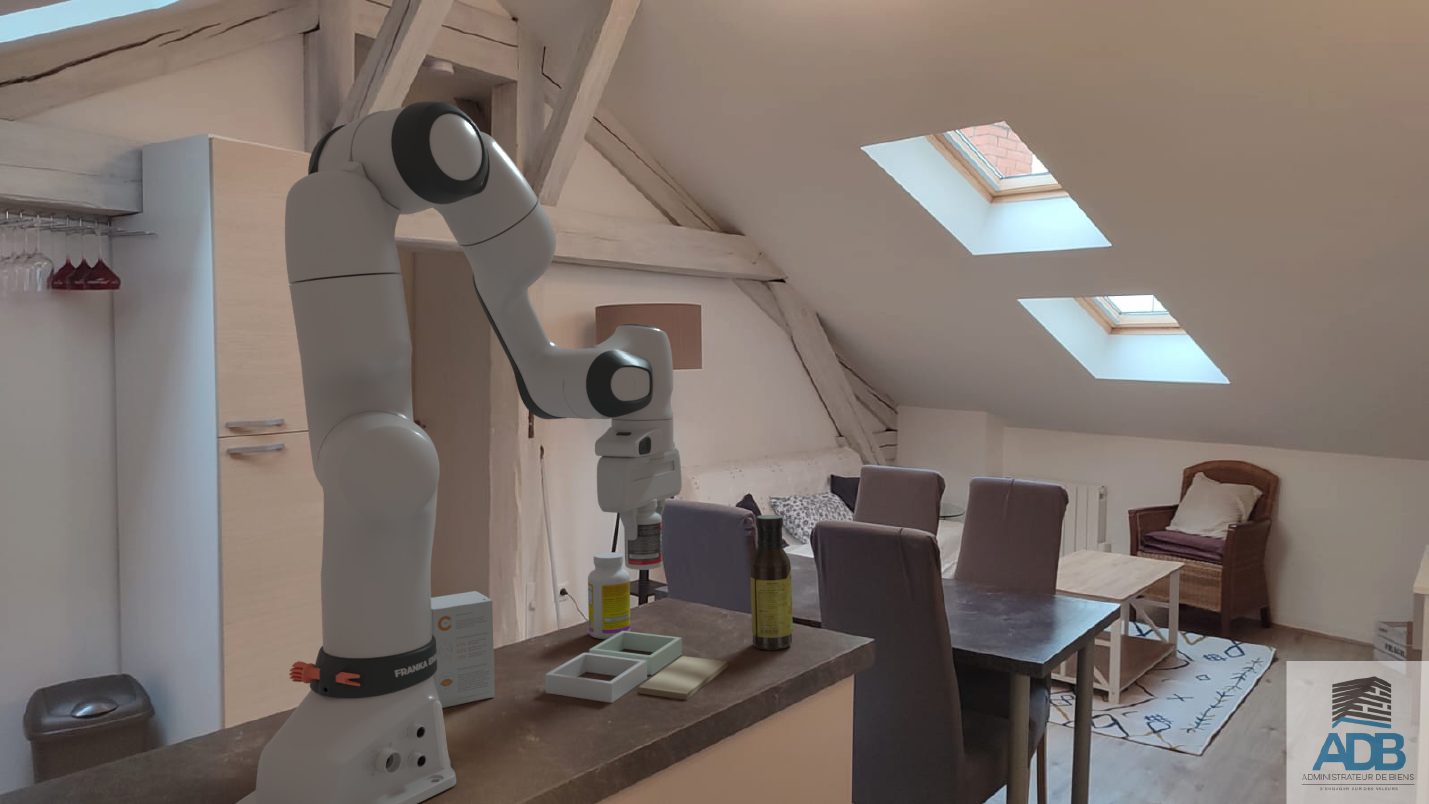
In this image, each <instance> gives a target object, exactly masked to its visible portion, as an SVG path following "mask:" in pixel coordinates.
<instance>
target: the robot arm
mask: <svg viewBox="0 0 1429 804" xmlns="http://www.w3.org/2000/svg"><path fill="white" fill-rule="evenodd" d="M307 167H308V169H307V170H308V171H307V175H305V176H303V177H301V178H300V179H299V180H297V181H296V182H295V183H294V184H293V185H292V186H291V187H290V189H289V191H288V192H287V196H286V199H285V211H284V212H285V213H284V215H285V216H284V244H285V245H284V246H285V248H284V250H285V262H286V263H285V264H286V271H287V279H288V284H289V285H288V287H289V291H290V292H289V294H290V299H291V305H292V306H291V307H292V311H293V313H292V314H293V319H294V326H295V331H296V338H297V343H298V344H297V345H298V349H299V350H298V351H299V357H300V365H301V366H300V367H301V374H302V375H301V377H302V384H303V385H302V386H303V387H302V388H303V396H304V406H305V413H306V414H305V415H306V421H307V431H308V438H309V447H310V454H311V462H312V466H313V472H314V475H315V477H316V479H317V482H318V484H320V486H321V488H322V491H323V493H322V494H323V532H322V535H323V536H322V556H321V571H320V590H321V591H320V595H321V596H320V597H321V624H322V625H321V627H322V633H321V634H322V646H320V647H319V650H318V653H317V657H316V660H315V663H307V662H304V661H300V660H299V661H296V662H294V663H293V664H292V665H291V668H290V669H289V676H290V677H289V679H290V680H291V681H292V682H295V683H302V682H303V683H304V684H309V688H310V690H309V692H308V693H307V695H305V697H303V699H302V701H301V702H300V703H299V705H298V706H297V707H296V708H295V709H294V711H293V712H292V713H291V715H290V716H289V717H288V718H287V719H286V720H285V722H284V723H283V725H282V726H281V727H280V728H279V729H278V731H276V733H275V734H274V735H273V737H271V738H270V740H269V741H268V742H267V743H266V745H265V746H264V747H263V749H262V751H261V753H260V757H259V761H258V765H257V771H256V772H257V773H256V781H255V782H256V784H255V790H253V791H252V792H250V793H249V794H247V795H246V796H244V797H243V798H242V799H240V800H238V801H237V802H236V803H235V804H418V803H421V802H423V801H425V800H427V799H429V798H431V797H434V796H436V795H438V794H441V793H442V792H444V791H446V790H449V789H450V788H453V787H454V786H455V785H456V784H457V776H456V775H457V774H456V771H455V770H454V769H453V768H452V766H451V764H452V760H451V757H450V755H449V752H448V744H447V736H446V735H447V734H446V727H445V722H444V713H443V708H442V705H441V702H440V699H439V696H438V693H437V690H436V686H435V681H434V673H435V672H436V671H437V658H438V650H437V649H436V638H435V637H434V636H433V635H432V616H431V598H432V585H431V584H432V581H431V579H432V576H431V575H432V574H431V573H432V556H433V555H432V553H433V545H434V538H435V529H436V521H437V520H436V519H437V505H438V489H439V488H438V487H439V480H440V459H439V456H438V452H437V449H436V447H435V444H434V442H433V440H432V438H431V437H430V436H429V434H427V432H426V431H425V430H424V429H423V428H422V427H421V426H420V425H418V424H417V423H416V422H415V421H414V410H413V392H412V391H413V389H412V355H413V345H412V339H411V331H410V324H409V323H410V322H409V318H408V317H409V316H408V311H407V302H406V296H405V295H406V294H405V289H404V282H403V275H402V270H401V262H400V257H399V256H400V255H399V252H398V248H397V242H396V239H395V235H396V234H395V233H396V227H397V223H398V220H399V218H400V217H399V216H400V215H402V216H403V215H404V216H405V215H413V214H416V213H419V212H423V211H427V210H429V209H434V210H435V211H437V212H438V213H439V214H440V215H441V216H442V218H443V219H444V222H445V223H446V225H447V228H449V231H450V233H451V234H452V236H453V237H454V239H455V240H456V242H457V244H458V245H459V247H460V248H461V250H462V251H463V253H464V255H465V256H466V257H465V258H466V260H467V261H468V262H469V265H470V267H471V270H472V283H473V288H474V290H475V294H476V296H477V298H478V301H479V303H480V305H481V307H482V309H483V311H484V312H483V313H485V315H486V318H487V320H488V322H489V323H490V326H491V328H492V329H493V332H494V333H495V336H496V337H497V339H498V341H499V344H500V345H501V347H502V349H503V351H504V353H505V354H506V356H507V360H508V361H509V363H510V366H511V368H512V370H513V374H514V378H515V382H516V386H517V390H518V394H519V397H520V398H521V401H522V403H523V405H524V407H526V409H527V410H528V411H529V412H530V413H531V414H532V415H534V416H536V417H537V418H539V419H542V420H561V419H583V420H591V419H592V420H596V419H597V420H609V419H611V420H610V421H611V422H610V423H611V426H610V427H608V428H607V430H606V431H605V433H603V434H602V435H601V436H600V437H599V438H598V439H596V441H595V443H594V453H595V455H596V456H598V457H599V459H598V461H597V463H596V494H597V503H598V506H599V508H600V510H601V511H602V512H603V513H613V514H614V513H616V514H617V513H619V518H620V520H621V521H620V522H621V523H622V525H623V526H622V527H623V530H624V531H623V534H624V535H623V536H624V540H625V539H626V540H635V539H638V538H639V537H640V526H638V525H637V520H636V516H637V514H638V508H639V507H642V506H645V505H648V504H650V503H651V501H652V500H654V499H657V509H655V512H656V513H658V514H659V515H660V516H661V518H662V517H663V513H664V510H665V507H666V504H665V503H666V500H667V499H670V498H673V497H676V496H678V495H680V493H681V491H682V487H683V486H682V483H683V481H682V466H681V456H680V452H679V450H678V448H677V447H676V446H675V444H676V443H675V442H674V413H673V410H672V405H671V404H672V403H671V399H672V398H671V397H672V393H673V390H674V366H673V365H674V364H673V362H674V361H673V355H672V347H671V342H670V339H669V337H668V334H667V332H665V331H663V330H662V329H661V328H659V327H655V326H652V325H648V324H645V325H644V324H640V323H639V324H638V323H625V324H620V325H618V326H617V327H616V328H615V331H614V333H613V334H612V335H611V336H610V337H609V338H607V339H606V340H604V341H602V342H600V343H599V344H595V345H593V347H589V348H565V347H562V346H560V345H557V344H556V343H554V342H553V341H551V339H550V338H549V337H548V336H547V334H546V332H545V329H544V327H543V325H542V323H541V321H540V318H539V317H538V314H537V312H536V310H535V308H534V306H533V304H532V302H531V300H530V296H529V288H530V287H531V286H532V285H533V284H534V283H536V282H537V281H538V280H539V279H540V278H541V276H543V275H544V274H545V273H546V271H547V270H548V269H549V268H550V266H551V264H552V262H553V260H554V256H555V252H556V248H557V237H556V233H555V231H554V230H555V229H554V228H553V227H554V226H553V225H552V221H551V219H550V218H549V216H548V213H547V212H546V210H545V209H544V207H543V205H542V204H541V202H540V200H539V198H538V197H537V195H536V194H535V192H534V190H533V189H532V187H531V185H530V183H529V182H528V181H527V179H526V178H525V176H524V174H523V173H522V172H521V170H520V169H519V167H518V166H517V165H516V164H515V163H514V161H513V159H511V158H510V156H509V155H508V153H507V152H506V151H505V150H504V148H503V147H502V146H501V145H500V144H499V143H498V142H497V141H496V139H494V137H492V136H491V135H489V134H488V133H485V132H483V131H480V129H479V127H478V126H477V124H476V123H475V122H474V121H473V120H472V119H471V117H469V115H467V113H465V112H464V111H462V110H461V108H459V107H457V106H455V105H454V104H451V103H448V102H443V101H434V100H433V101H430V100H429V101H418V102H414V103H411V104H409V105H407V106H403V107H397V108H392V109H389V110H388V109H387V110H379V111H375V112H372V113H369V114H367V115H364V116H362V117H359V118H356V119H355V120H353V121H351V122H349V123H347V124H342V125H339V126H337V127H334V128H333V129H331V130H330V131H329V132H327V133H325V134H324V135H323V136H322V137H321V138H320V139H319V140H318V141H317V143H316V144H315V146H314V147H313V149H312V152H311V155H310V157H309V161H308V166H307Z"/></svg>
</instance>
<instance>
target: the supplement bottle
mask: <svg viewBox="0 0 1429 804" xmlns="http://www.w3.org/2000/svg"><path fill="white" fill-rule="evenodd" d="M623 563H624V554H623V553H622V552H621V553H620V552H612V551H610V552H609V551H608V552H607V551H605V552H599V553H596V554H594V555H593V564H594V569H593V570H592V571H590V572H589V574H588V576H587V593H588V594H587V596H588V597H587V598H588V599H587V600H588V603H587V604H588V607H587V608H588V609H587V610H588V633H589V635H590V636H591V637H592V638H595V639H598V640H607V639H609V638H610V637H612V636H614V635H616V634H617V633H619V632H621V631H629V632H631V591H630V589H631V587H630V585H631V581H630V579H631V578H630V574H629V572H628V571H627V570H626V569H624V568H623V566H622V565H623Z"/></svg>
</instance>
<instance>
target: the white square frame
mask: <svg viewBox="0 0 1429 804" xmlns="http://www.w3.org/2000/svg"><path fill="white" fill-rule="evenodd" d="M585 673H592V674H597V675H598V674H599V675H606V676H613V679H611V680H602V679H595V678H590V677H589V678H588V677H582V676H581V675H584V674H585ZM614 676H615V677H614ZM647 680H648V674H647V661H646V660H638V659H630V658H623V657H615V656H607V655H600V654H592V653H589V652H582V653H581V654H579V655H577V656H575V657H574V658H572V659H570V660H568V661H566V662H564V663H563V664H561V665H559V666H557V667H556V668H554V669H552V670H551V671H548V672H547V673H545V694H551V695H557V696H564V697H570V698H577V699H585V700H590V701H599V702H603V703H611V704H612V703H614V702H616V701H617V700H618V699H620V698H622V697H623V696H625V694H627V693H628V692H630V691H632V690H633V689H634V688H635V687H637V686H640V685H641V684H642V683H643V682H644V681H647Z"/></svg>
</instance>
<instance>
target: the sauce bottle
mask: <svg viewBox="0 0 1429 804" xmlns="http://www.w3.org/2000/svg"><path fill="white" fill-rule="evenodd" d="M755 518H756V519H755V521H756V523H755V525H756V527H757V542H756V543H757V548H756V550H755V551H754V553H753V554H752V557H751V560H750V604H751V605H750V607H751V633H752V645H753V646H754V647H755V648H757V649H759V650H765V651H775V650H781V649H785V648H787V647H790V646H791V645H792V642H793V636H792V635H793V630H794V629H793V602H792V601H793V600H792V599H793V597H792V596H793V595H792V594H793V593H792V566H791V562H790V557H789V556H788V554H787V553H786V551H785V549H784V548H783V544H784V543H783V530H782V529H783V525H784V518H783V516H781V515H777V514H761V515H757V516H756V517H755Z"/></svg>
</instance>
